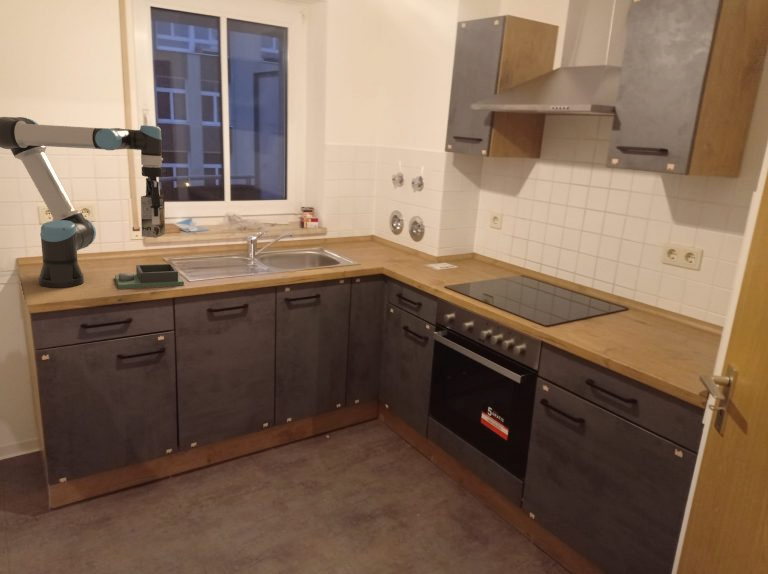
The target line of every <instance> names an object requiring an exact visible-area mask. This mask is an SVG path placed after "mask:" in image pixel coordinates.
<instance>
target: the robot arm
mask: <svg viewBox="0 0 768 574" xmlns="http://www.w3.org/2000/svg"><path fill="white" fill-rule="evenodd" d="M162 139H163V137H162V129H161V128H160V127H159V126H155V125H143V124H142V125H140V127H139V129H129V128H128V129H127V128H119V127H118V128H117V127H113V128H109V127H108V128H106V127H105V128H103V127H102V128H100V127H87V126H86V127H85V126H68V125H53V124H52V125H51V124H39V123H37V122H36V121H34V120H33V119H30V118H27V117H24V116H23V117H22V116H19V117H18V116H16V117H11V116H0V148H1V149H6V150H10V151H11V153H12V155H13V156H14V158H15V159H17V160H20V161H21V163H22V164H23V166H24V168H25V169H26V171H27V173H28V175H29V177H30V178H31V180H32V182H33V184H34V186H35V187H36V189H37V191H38V193H39V195H40V196H41V198H42V200H43V202H44V204H45V205H46V207H47V210H48V211H49V213H50V214H51V216H52V220H50V221H47V222H45V223H43V224H42V225H41V226H40V235H39V236H40V242H41V243H40V244H41V255H42V267H41V270H40V272H39V273H40V274H39V277H38V283H39V285H40V286H42V287H45V288H55V289H56V288H71V287H75V286H79V285H82V284H84V282H85V279H84V278H85V277H84V273H83V272H82V270H81V267H80V265H79V263H78V261H79V259H78V251H80V250H83V249H86V248H87V247H89V246H90V245H92V244H93V242H94V241H95V239H96V236H97V231H96V227H95V226H94V224H93V222H92V221H90V220H89V219H87V218H85V216H84V215H83V213H82V212H81V210H78V209H76V208H75V206H74V205H73V203H72V201H71V199H70V197H69V196H68V194H67V191H66V190H65V188H64V186H63V184H62V183H61V180H60V179H59V177H58V175H57V173H56V171H55V169H54V168H53V166H52V164H51V162H50V160H49V158H48V156H47V155H46V149H47V147H55V148H71V149H72V148H74V149H75V148H76V149H93V150H105V151H116V150H134V151H135V150H136V151H140V160H141V161H140V162H141V163H140V164H141V176H142V177H145V183H146V184H145V196H146V195H151V200H152V206H151V207H150V208H152V225H156V224H160V219H159V207H160V196H159V195H160V187H159V186H160V183H159V181H157V178H162V177H163V168H162V166H163V161H164V157H162V152H163V151H162V143H163V142H162Z"/></svg>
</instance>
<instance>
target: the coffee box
mask: <svg viewBox="0 0 768 574" xmlns="http://www.w3.org/2000/svg"><path fill="white" fill-rule="evenodd" d="M159 196H160V207H159V219H160V224H156V225H152V208H150V207H151V206H152V200H151V195H146V194H145V195H141V196H140V212H141V213H140V214H141V215H140V216H141V218H140V219H141V220H140V221H141V223H140V224H141V237H145V238H155V239H156V238H157V239H158V238H159V237H163V236H164V235H166V221H165V220H166V217H165V208H166V207H165V195H163V194H159Z"/></svg>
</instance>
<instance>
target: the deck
mask: <svg viewBox="0 0 768 574" xmlns="http://www.w3.org/2000/svg"><path fill="white" fill-rule="evenodd" d="M135 268H136V269H135V270H136V273H132V272H121V273H119V274H114V279H115V281H116V285H117V287H118V289H119V290H120V289H138V288H155V287H173V285H178V286H184V285H185V284H184V283H185V281H184V280H183V279H182V277H181V276H180V275H179V271H178V270H177V268H176V267H175V266H174V265H173V263H157V264H156V263H155V264H154V263H153V264H136V265H135Z"/></svg>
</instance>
